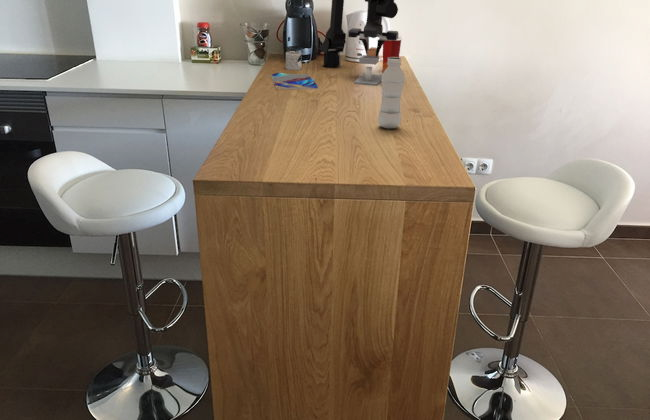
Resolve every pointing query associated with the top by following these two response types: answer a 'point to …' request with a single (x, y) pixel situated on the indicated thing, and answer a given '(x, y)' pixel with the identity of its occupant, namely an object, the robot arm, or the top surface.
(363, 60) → the square frame with handle
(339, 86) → the top surface
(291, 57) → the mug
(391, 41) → the coffee cup
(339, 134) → the top surface
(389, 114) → the plastic bottle
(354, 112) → the top surface
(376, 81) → the keeper
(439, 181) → the top surface
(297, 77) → the multicolored flat slab
